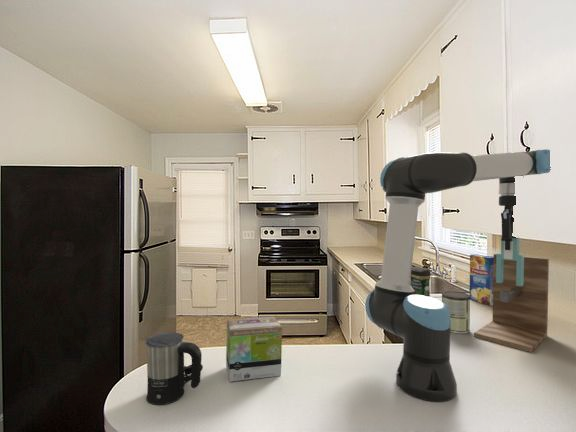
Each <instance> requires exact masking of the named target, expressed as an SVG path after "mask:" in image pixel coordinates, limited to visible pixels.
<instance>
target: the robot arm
mask: <svg viewBox="0 0 576 432" xmlns="http://www.w3.org/2000/svg"><path fill="white" fill-rule="evenodd" d="M550 151H551V150H550V149H547V148H546V149H537V150H530V151H517V152H515V151H514V153H511V152H501V153H490V154H476V155H475V154H472V155H471V154H470V153H468V152H426V153H421V154H415V155H411V156H403V157H398V158H396V159H393V160H391V161H389V162H387V164H385V165H384V167H383V168H382V170H381V173H380V178H379V180H380V182H379V183H380V187H382V190H383V192H384V193H385V197H384V198H385V200H386V201H387V202H388V204H389V205H388V207H389V208H388V216H387V217H388V218H387V223H386V224H387V225H386V232H385V233H386V234H385V239H384V240H385V242H384V249H383V258H382V259H383V260H382V267H381V274H380V275H381V276H380V279H379V280H378V281H377V282H376V283H375V284H374V288H373V289H372V290H371V291H370V292H369V294H368V295H367V297H366V300H365V312H366V313H365V314H366V315H367V317H368V319H369V320H370V321H371V323H373V324H374V325H375V326H377V327H378V328H379V329H382V330H385V331H387V332H389V333H390V334H393V335H395V336H397V337H399V338H401V339H402V341H403V346H402V347H403V348H402V349H403V351H402V353H403V354H402V357H401V359H400V361H399V365H398V367H397V370H396V375H395V377H396V380H395V381H396V384H397V386H398V387H399V388H400V390H402V392H404V393H406V394H408V395H409V396H412V397H414V398H418V399H420V400H422V401H423V400H425V401H431V402H446V401H449V400H453V399H454V398H455V397H456V396H457V394H458V393H457V391H458V389H457V388H458V386H457V381H456V378H455V374H454V370H453V368H452V364H451V361H450V359H451V357H450V356H451V355H450V354H451V352H450V351H451V332H450V328H451V320H450V311H449V308H448V307H447V305H446V304H444V303H443V302H442V300H440V299H437V298H436V297H435V298H434V297H432V296H430V297H426V296H424V295H414V289H413V288H412V287H411V278H410V277H411V268H412V267H413V259H414V257H413V256H414V251H415V250H414V249H415V241H416V233H417V224H418V223H417V222H418V215H419V207H420V206H421V205H423V204H424V203H425V200H426V194H433V193H438V192H442V191H445V190H446V191H447V190H451V189H454V188H455V189H456V188H460V187H466V186H468V185H470V184H472V183H473V182H479V181H487V180H488V181H489V180H495V179H496V180H497V179H498V180H499V181H498V182H499V183H498V195H499V196H498V206H500V207H504V208H503V211H502V212H500V216H501V238H502V239H501V238H500V242H501V241H504V259H513V241H512V238H516V237H513V236H512V233H513V222H514V218H513V217H512V215H513V206H514V205H516V196H514V194H515V183H514V182H515V178H514V177H515V176H523V177H524V176H532V175H535V176H536V175H542V174H549V173H551V172H550V170H551V169H550V168H551V167H550Z"/></svg>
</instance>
